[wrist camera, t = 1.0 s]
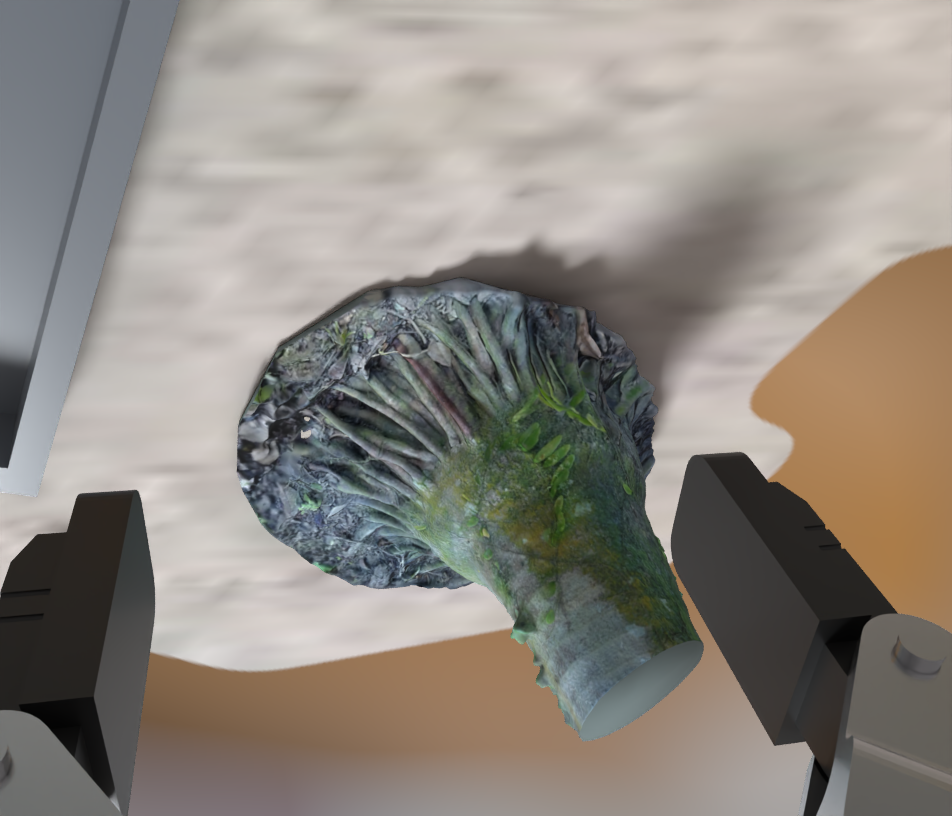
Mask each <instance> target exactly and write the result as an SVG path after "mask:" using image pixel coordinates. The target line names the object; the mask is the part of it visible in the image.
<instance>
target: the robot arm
mask: <svg viewBox="0 0 952 816" xmlns="http://www.w3.org/2000/svg"><path fill="white" fill-rule="evenodd" d="M671 552H672V559H673V563H674V566H675V569H676V572H677V574H678V576H679V578H680V579H681V581H682V583H683V584H684V586H685V588H686V590H687V592H688V593H689V595H690V597H691V599H692V601H693V602H694V604H695V606H696V608H697V609H698V611H699V613H700V615H701V617H702V618H703V620H704V622H705V624H706V625H707V627H708V629H709V631H710V632H711V634H712V636H713V638H714V640H715V641H716V643H717V645H718V646H719V648H720V650H721V652H722V654H723V656H724V657H725V659H726V661H727V663H728V664H729V666H730V668H731V670H732V671H733V673H734V675H735V677H736V679H737V680H738V682H739V684H740V685H741V687H742V689H743V691H744V693H745V694H746V696H747V698H748V700H749V702H750V703H751V705H752V707H753V709H754V710H755V712H756V714H757V716H758V717H759V719H760V721H761V723H762V725H763V726H764V728H765V730H766V732H767V734H768V735H769V737H770V739H771V740H772V742H773V744H774V745H775V746H776V745H783V744H791V743H798V742H805V741H806V742H807V744H808V746H809V747H810V749H811V751H812V752H813V756H812V758H811V761H810V763H809V766H808V769H807V773H806V779H805V783H804V789H803V793H802V799H801V804H800V809H799V814H798V816H952V634H951V633H950V632H948V631H947V630H945V629H943V628H941V627H940V626H938V625H936V624H934V623H932V622H929V621H927V620H924V619H922V618H918V617H915V616H911V615H905V614H898V613H897V612H896V611H895V609H894V608H893V607H892V606H891V604H890V603H889V602H888V601H887V599H886V598H885V597H884V596H883V595H882V593H881V592H880V591H879V590H878V589H877V587H876V586H875V585H874V584H873V582H872V581H871V580H870V579H869V577H868V576H867V575H866V574H865V573H864V572H863V570H862V569H861V568H860V566H859V565H858V564H857V563H856V562H855V560H854V559H853V558H852V557H851V555H850V554H849V553H848V552H847V551H846V549H841V543H840V542H839V541H838V540H837V538H836V537H835V536H834V535H833V534H832V532H831V531H830V530H829V529H828V530H826V529H825V524H824V523H823V521H822V520H821V519H820V518H819V517H818V515H817V514H816V513H815V512H814V510H813V509H812V508H811V507H810V505H809V504H808V503H807V502H806V501H805V500H803V499H802V498H800V497H799V496H797V495H796V494H794V493H793V492H791V491H790V490H788V489H787V488H786V487H784V486H783V485H781V484H780V483H778V482H770V483H768V481H767V480H766V479H765V477H764V476H763V475H762V474H761V472H760V471H759V470H758V469H757V467H756V466H755V465H754V463H753V462H752V461H751V460H750V458H749V457H748V456H747V455H746V454H744V453H742V452H733V453H717V454H702V455H694V456H693V457H691V459H690V460H689V462H688V464H687V468H686V472H685V476H684V480H683V485H682V489H681V494H680V498H679V502H678V507H677V511H676V516H675V520H674V524H673V529H672V534H671ZM0 595H1V597H0V816H127V815H128V808H129V801H130V794H131V786H132V779H133V772H134V765H135V756H136V750H137V742H138V735H139V728H140V721H141V713H142V706H143V698H144V691H145V684H146V677H147V670H148V662H149V655H150V648H151V640H152V633H153V626H154V617H155V586H154V576H153V569H152V563H151V557H150V551H149V545H148V539H147V533H146V526H145V520H144V514H143V508H142V502H141V498H140V495H139V492H138V491H137V490H128V491H113V492H98V493H82V494H79V495H78V496H77V498H76V501H75V505H74V508H73V512H72V516H71V519H70V523H69V526H68V530H67V532H64V533H51V534H37V535H36V536H35V537H34V538H33V539H32V540H31V541H30V542H29V544H28V545H27V546H26V547H25V548H24V549H23V550H22V551H21V552H20V553H19V554H18V555H17V556H16V557H15V558H14V559H13V560H12V561H11V563H10V566H9V569H8V572H7V575H6V577H5V580H4V583H3V586H2V589H1V592H0Z"/></svg>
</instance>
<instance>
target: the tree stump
mask: <svg viewBox="0 0 952 816" xmlns="http://www.w3.org/2000/svg"><path fill="white" fill-rule="evenodd" d="M635 360H636V357H635V356H634V354H633V352H632V351H631V350H630V349H628V348H627V345H626V342H625V341H624V339H623V337H622V336H621V335H619V334H617V333H614V332H613V331H611V330H609V329H608V328H606V327H604V326H603V325H601V324H599V323H597V322H596V313H595V311H589V310H587V309H585V308H584V307H576V306H568V305H561V304H556V303H553V302H552V301H551V300H548V299H541V298H537V297H534V296H531V295H526V294H522V293H520V292H516V291H510V290H506V289H502V288H498V287H495V286H491V285H487V284H484V283H480V282H477V281H473V280H469V279H466V278H462V277H461V278H455V279H451V280H447V281H444V282H440V283H435V284H431V285H427V286H422V287H409V286H395V287H389V288H385V289H374V290H370V291H367V292H366V293H364V294H363V295H361V296H359V297H358V298H356V299H355V300H353V301H352V302H350V303H348V304H347V305H345V306H344V307H342V308H340V309H339V310H337V311H336V312H334V313H332V314H331V315H329V316H328V317H326V318H324V319H323V320H321V321H320V322H318V323H316V324H315V325H313V326H312V327H310V328H309V329H307V330H305V331H304V332H302V333H301V334H299V335H297V336H296V337H294V338H293V339H291V340H289V341H288V342H286V343H285V344H283V345H281V346H280V347H279V348H278V350H277V352H276V353H275V355H274V357H273V359H272V361H271V363H270V365H269V367H268V369H267V370H266V372H265V374H264V376H263V378H262V380H261V382H260V384H259V386H258V387H257V389H256V391H255V393H254V395H253V397H252V399H251V401H250V402H249V404H248V406H247V408H246V410H245V412H244V414H243V416H242V418H241V419H240V421H239V425H238V445H237V474H238V478H239V481H240V484H241V487H242V490H243V492H244V494H245V496H246V497H247V499H248V501H249V503H250V505H251V506H252V508H253V510H254V512H255V513H256V515H257V517H258V519H259V521H260V523H261V524H262V525H263V526H264V528H265V529H266V530H267V531H268V532H269V533H270V534H271V535H273V536H274V537H275V538H276V539H278V540H279V541H281V542H282V543H284V544H285V545H287V546H289V547H291V548H293V549H295V550H296V551H297V552H298V553H299V554H300V555H301V556H302V557H303V558H304V559H306V560H307V561H308V562H309V563H311V564H313V565H315V566H317V567H318V568H320V569H321V570H322V571H324V572H325V573H328V574H330V575H335V576H337V577H339V578H341V579H343V580H345V581H347V582H348V583H350V584H352V585H364V586H367V587H370V588H376V589H387V588H398V587H406V586H410V585H417V586H419V587H425V588H433V587H434V588H443V587H447V588H449V589H457V588H459V587H462V586H467V585H469V584H471V583H477V584H479V585H482V586H485V587H487V588H488V589H489V590H490V591H491V592H492V593H493V594H494V595H495V596H496V598H497V599H498V600H499V601H500V603H501V604H503V605H504V606H505V608H506V609H507V612H508V613H509V614H510V616H511V617H512V619H513V620H514V622H515V624H514V626H513V630H512V633H511V638H512V639H513V638H515V639H516V640H517V641H518V643H521V644H523V643H525V642H526V643H527V644H528V646H529V647H530V649H531V650H532V652H533V653H534V660H533V662H534V665H535V666H540V673H539V674H538V676H537V678H536V683H537V684H538V685H540V687H541V688H543V687H546V686H549V687H550V689H551V691H552V692H553V694H554V695H557V698H558V707H559V708H560V709H562V712H563V714H564V716H565V723H566V724H568V725H570V726H571V727H572V728H574V730H576V731H577V732H578V734H579V737H580V738H581V739H582V741H589V740H594V739H598V738H601V737H604V736H607V735H609V734H611V733H613V732H614V731H617V730H619V729H621V728H623V727H624V726H626V725H628V724H629V723H631V722H633V721H634V720H636V719H637V718H639V717H640V716H642V715H643V714H644V713H646V712H647V711H648V710H650V709H651V708H652V707H654V706H655V705H656V704H657V703H659V702H660V701H661V700H662V699H663V698H664V697H666V696H667V695H668V694H669V693H670V692H671V691H672V690H674V689H675V688H676V687H677V686H678V685H679V684H680V683H681V682H682V681H683V680H684V679H685V677H687V676H688V675H689V674H690V672H691V671H692V670H693V669H694V668H695V667H696V666H697V664H698V663H699V661H700V660H701V657H702V654H703V650H704V649H703V648H704V646H703V642H702V641H701V640H700V638H699V636H698V634H697V632H696V630H695V628H694V626H693V624H692V622H691V620H690V617H689V613H688V609H687V606H686V605H685V603H684V601H683V599H682V595H683V594H682V593H681V592H680V591H679V589H678V585H677V582H676V577H675V576H674V574H673V572H672V570H671V568H670V566H669V563H668V561H667V557H666V555H665V553H664V551H665V550H664V549H663V547H662V546H661V544H660V540H659V538H658V537H656V536H655V535H654V533H653V530H652V527H651V524H650V522H649V519H648V517H647V515H646V511H645V498H646V483H645V479H646V477H647V476H648V475H649V473H650V471H651V469H652V467H653V465H654V463H655V458H654V456H653V449H652V443H651V441H652V439H651V437H652V434H653V432H654V429H653V426H654V424H655V422H654V420H653V417H654V416H655V415H656V414H657V413H658V408H657V406H656V405H654V404H653V403H652V401H651V397H652V396H653V392H654V390H655V389H656V388H655V387H654V386H653V385H652V384H650V383H649V382H648V381H647V380H646V379H645V378H644V377H641V376H640V375H639V373H638V371H637V365H636V364H635ZM304 417H310V420H309V421H305V420H304ZM301 430H303V432H305V431H308V430H311V435H310V437H309V438H307V439H303V438H301Z"/></svg>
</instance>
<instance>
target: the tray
mask: <svg viewBox="0 0 952 816" xmlns="http://www.w3.org/2000/svg"><path fill="white" fill-rule="evenodd" d="M178 4H179V0H0V492H2V493H10V494H17V495H25V496H33V497H37V495H38V492H39V488H40V485H41V481H42V478H43V474H44V471H45V467H46V464H47V460H48V457H49V453H50V450H51V446H52V443H53V439H54V436H55V432H56V429H57V425H58V422H59V418H60V415H61V411H62V408H63V404H64V401H65V397H66V394H67V390H68V387H69V383H70V380H71V377H72V373H73V370H74V366H75V363H76V359H77V356H78V352H79V349H80V345H81V342H82V338H83V335H84V331H85V328H86V324H87V321H88V317H89V314H90V310H91V307H92V303H93V300H94V296H95V293H96V289H97V286H98V282H99V279H100V275H101V272H102V268H103V265H104V262H105V258H106V255H107V251H108V248H109V244H110V241H111V237H112V234H113V230H114V227H115V223H116V220H117V216H118V213H119V209H120V206H121V202H122V199H123V195H124V192H125V188H126V185H127V181H128V178H129V174H130V171H131V167H132V164H133V160H134V157H135V153H136V150H137V147H138V143H139V140H140V136H141V133H142V129H143V126H144V122H145V119H146V115H147V112H148V108H149V105H150V101H151V98H152V94H153V91H154V87H155V84H156V80H157V77H158V73H159V70H160V66H161V63H162V59H163V56H164V52H165V49H166V45H167V42H168V38H169V35H170V32H171V28H172V25H173V21H174V18H175V14H176V11H177V7H178Z"/></svg>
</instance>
